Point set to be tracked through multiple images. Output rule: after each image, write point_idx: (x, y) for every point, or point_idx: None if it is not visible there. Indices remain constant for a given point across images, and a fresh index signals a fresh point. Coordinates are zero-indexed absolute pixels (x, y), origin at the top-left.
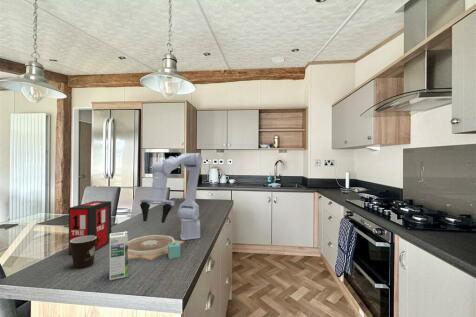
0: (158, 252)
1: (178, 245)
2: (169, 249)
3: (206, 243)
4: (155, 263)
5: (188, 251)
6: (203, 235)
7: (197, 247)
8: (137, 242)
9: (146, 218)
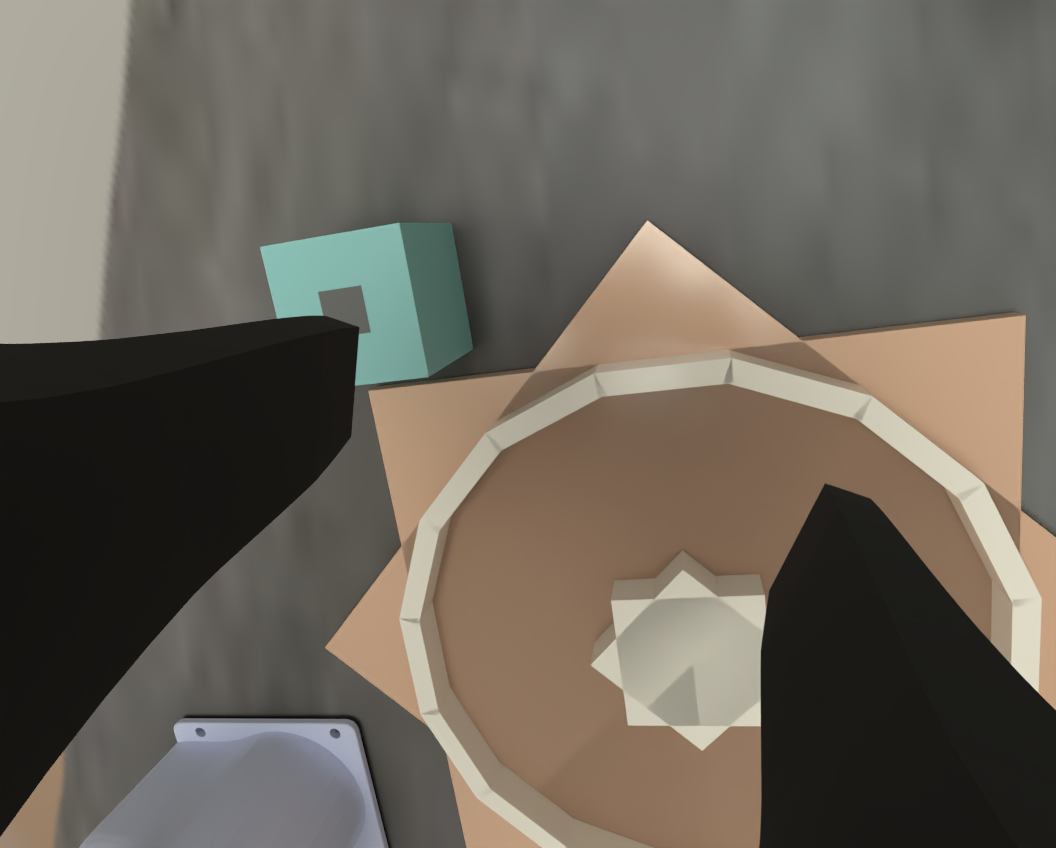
0: (573, 379)
1: (281, 246)
2: (407, 225)
3: None
4: (592, 120)
5: None
6: None
7: None
8: None
9: (785, 617)
